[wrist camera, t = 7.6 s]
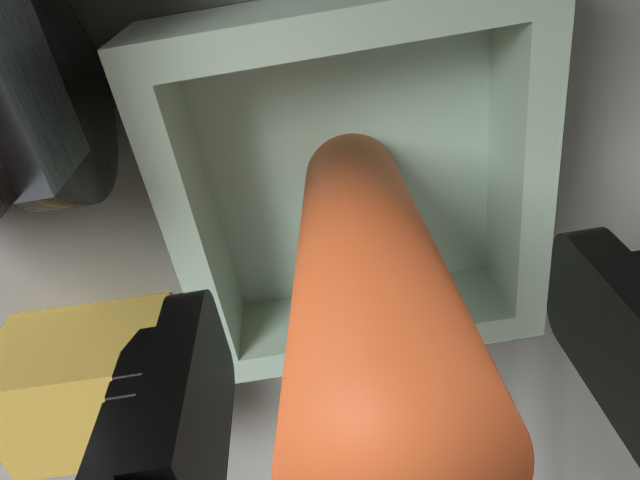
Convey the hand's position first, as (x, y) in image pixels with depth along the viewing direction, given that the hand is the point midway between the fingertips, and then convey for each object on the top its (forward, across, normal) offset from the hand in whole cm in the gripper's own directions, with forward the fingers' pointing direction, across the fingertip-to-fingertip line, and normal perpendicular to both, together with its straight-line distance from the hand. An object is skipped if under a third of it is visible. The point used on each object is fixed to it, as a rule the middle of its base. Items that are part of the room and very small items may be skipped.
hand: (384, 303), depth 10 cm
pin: (+5, 0, 0) cm, 5 cm away
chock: (+6, +8, +5) cm, 12 cm away
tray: (+6, 0, 0) cm, 6 cm away
